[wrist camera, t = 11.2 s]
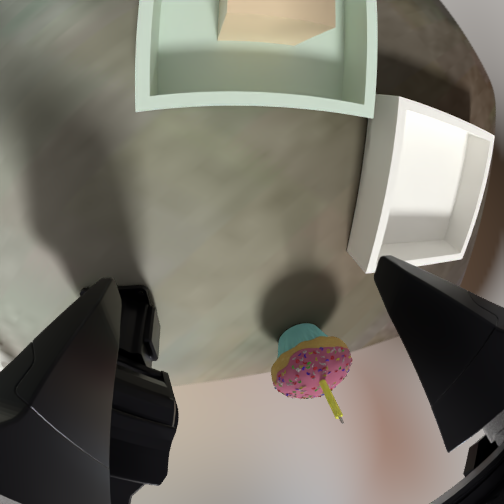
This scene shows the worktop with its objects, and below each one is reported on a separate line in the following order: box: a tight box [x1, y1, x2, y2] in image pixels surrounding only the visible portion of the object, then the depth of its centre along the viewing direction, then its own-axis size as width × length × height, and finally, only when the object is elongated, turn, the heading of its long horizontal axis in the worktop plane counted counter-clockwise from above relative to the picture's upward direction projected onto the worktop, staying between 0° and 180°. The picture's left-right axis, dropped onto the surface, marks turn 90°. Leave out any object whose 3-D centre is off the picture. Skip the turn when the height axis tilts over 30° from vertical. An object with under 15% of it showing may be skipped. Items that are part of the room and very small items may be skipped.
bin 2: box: [347, 94, 495, 273], centre depth 20 cm, size 14×14×4 cm
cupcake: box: [271, 323, 352, 424], centre depth 24 cm, size 9×8×12 cm
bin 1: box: [135, 0, 377, 119], centre depth 11 cm, size 14×14×4 cm
